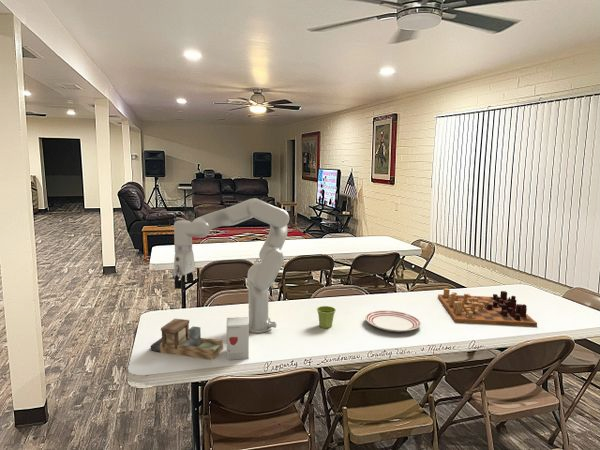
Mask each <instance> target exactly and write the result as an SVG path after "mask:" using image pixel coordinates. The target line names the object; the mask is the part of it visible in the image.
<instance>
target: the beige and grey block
mask: <svg viewBox="0 0 600 450" xmlns="http://www.w3.org/2000/svg"><path fill="white" fill-rule="evenodd" d="M201 334H202V333H201V326H194V325H193V326H192V327H189V340H186V330H185V327H183V328H182V329H180V330H179V331H178V337H179V345H185V346H193V347H198V346H199V345H200V344H201V343H202V342H201V338H202V337H201V336H202V335H201ZM166 343H170V344H175V341H174V334H166Z"/></svg>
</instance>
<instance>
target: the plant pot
mask: <svg viewBox="0 0 600 450" xmlns="http://www.w3.org/2000/svg"><path fill="white" fill-rule="evenodd" d="M316 311H317V313H318V322H319V323H318V324H319V327H320V328H322V329H327V328H328V329H330V328H332V327H333V321H334V316H335V312H336V308H335V307H333V306H328V305H321V306H318V307H317V308H316Z"/></svg>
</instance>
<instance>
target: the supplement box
mask: <svg viewBox="0 0 600 450" xmlns="http://www.w3.org/2000/svg"><path fill="white" fill-rule="evenodd" d="M248 323H249V316H243V317H242V316H241V317H238V316H237V317H235V316H234V317H227V318H226V359H227V360H226V361H228V360H229V361H232V360H247V359H249V358H250V357H249V347H250V346H249V345H250V343H249V342H250V341H249V340H250V339H249V337H250V335H249V334H250V332H249V324H248Z"/></svg>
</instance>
